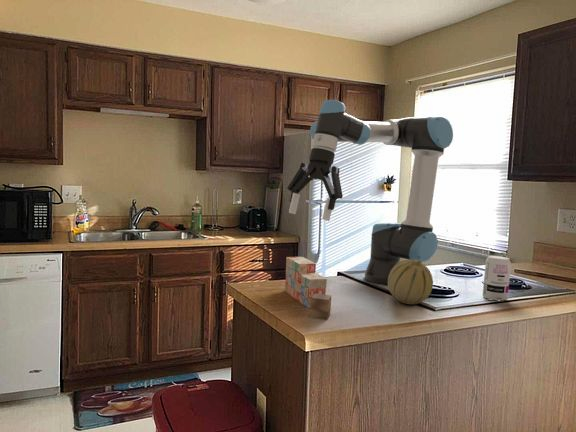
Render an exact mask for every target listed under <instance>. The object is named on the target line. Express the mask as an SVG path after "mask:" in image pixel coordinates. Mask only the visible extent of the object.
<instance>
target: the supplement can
mask: <svg viewBox="0 0 576 432" xmlns="http://www.w3.org/2000/svg"><path fill="white" fill-rule="evenodd" d="M511 266H512V262H511V260H510V258H509V257H506V256H501V255H488V256H487V258H486V260H485V265H484V277H483V288H482V296H483V297H484V298H485V299H486V298H488V299H487V300H489V299H492V300H491V301H493V300H505V301H507V300H508V296H509V290H510V289H509V287H510V277H511V269H512V268H511Z"/></svg>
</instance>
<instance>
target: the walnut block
mask: <svg viewBox="0 0 576 432" xmlns="http://www.w3.org/2000/svg"><path fill="white" fill-rule="evenodd" d="M331 304H332V295H330V294H325V295H322V294H314V295H313V297H312V298H311V308H310V318H311V319H317V320H326V321H328V319H329V318H330V316H331V308H332V307H331V306H332V305H331Z"/></svg>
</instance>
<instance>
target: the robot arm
mask: <svg viewBox="0 0 576 432" xmlns="http://www.w3.org/2000/svg"><path fill="white" fill-rule="evenodd" d="M310 136H311V138H312V140H313V141H312V145H311V146H312V147H313V148H311V149H310V153H309V154H310V155H309V158H308V159H309V163H308V164H307V163H304V162H301V163H300V165H299V169H297V172H296V173H295V175H294V177H293V178H292V180H291V182H289V184H288V186H287V190H288V191H290V192H291V194H290V198H289V203H290V205H289V210H288V214H293V215H296V214H297V210H298V205H299V201H300V198H301V197H300V196H301V194H300V192H301V191H302V190H303V189H304V188H305V187H306V186H307V185H308V184H309V183H310V182H311V181H313V180H319V181H322V183H323V185H324V188H325V190H326V192H327V195H328V197H327V198H326V199H325V205H324V210H323V214H322V218H321V220H322V221H323V220H324V221H328V222H329V221H330V219H331V215H332V211H334V210H335V206H336V202H337V200H339V199H343V196H344V195H343V191H342V185H341V179H340V170H341V169H340V168H339V167H338V166H335V165H333V163H334V160H335V156H336V154H335V152H336V151H337V146H338V143H352V144H356V145H358V146H359V145H360V146H361V145H364V144H365V143H383V144H384V145H386V146H394V147H395V146H396V147H403V148H409V149H411V153H412V154H413V155H414V159H413V166H412V167H413V168H412V175H411V182H410V187H409V195H408V196H409V197H408V201H407V202H408V203H407V210H406V217H405V219H404V220H403V221H401V222H386V223H385V222H384V223H380V222H379V223H375V224H374V225H373V226H372V231H371V242H370V243H371V244H370V259H369V262H368V264H367V267H366V268H365V269H366V270H365V271H364V280H366V281H368V282H372V283H376V284H380V285H381V284H383V285H388V277H389V274H390V272H391V270H392V268H393V267H394V266H395V265H396V264H397V263H399V262H401V259H404V260H415V261H421V263H426V262H428V261H430V260H431V258H432V257H433V256H434V255H435V253H436V251H437V249H438V244H439V242H438V238H437V235H436V234H435V233H434V232H433V230H434V227H433V225H432V224H431V215H432V213H431V212H432V208H433V199H434V193H435V184H436V177H437V170H438V164H439V158H441V157H442V156H443V155H444V152H445V149H446V148H448V147H450V145H451V144H452V142H453V140H454V130H453V126H452V124H451V123H450V120H449V119H448V118H446V117H445V116H443V115H428V116H427V115H425V116H415V117H414V116H411V117H404V118H398V119H387V120H384V121H364V120H362V119H358V118H357V117H354V116H353V115H350V114H347V113H346V105H345V103H343V102H341V101H339V100H336V99H326V100H324V101H322V104H321V106H320V109H319V113H318V118H317V120H315V121H314V122H313V123H312V124H311V126H310ZM330 176H331V178H330Z"/></svg>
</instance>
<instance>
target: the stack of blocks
mask: <svg viewBox="0 0 576 432" xmlns="http://www.w3.org/2000/svg"><path fill="white" fill-rule="evenodd" d="M285 259H286V262H285V265H286V266H285V282H284V284H285V285H284V287H285V288H284V291H285V292H287V294H288V295H290V297H292V298H294V299H295V300H297V302H299V303H300V304H301V305H303V306H304V307H305V308H306V309H311V298H312V297H313V295H314V294H322V295H326V292H327V290H326V289H327V280H328V279H327V278H326V277H324V276H323V275H321V274H319V273H317V272H316V267H317V264H316V262H314V261H312V260H310V259H307V258H306V257H304V256H286V258H285Z"/></svg>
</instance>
